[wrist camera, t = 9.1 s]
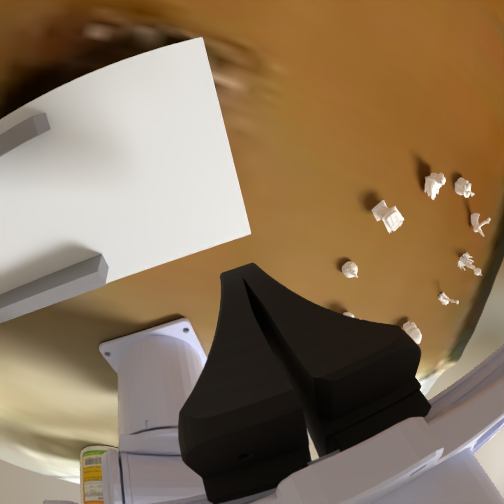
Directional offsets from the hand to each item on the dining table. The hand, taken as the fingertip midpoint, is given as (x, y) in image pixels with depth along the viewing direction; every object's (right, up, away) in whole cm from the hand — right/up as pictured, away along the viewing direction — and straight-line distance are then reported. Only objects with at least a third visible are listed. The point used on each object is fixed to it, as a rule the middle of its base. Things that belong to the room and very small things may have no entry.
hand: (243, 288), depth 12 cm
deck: (-17, +3, +4) cm, 17 cm away
